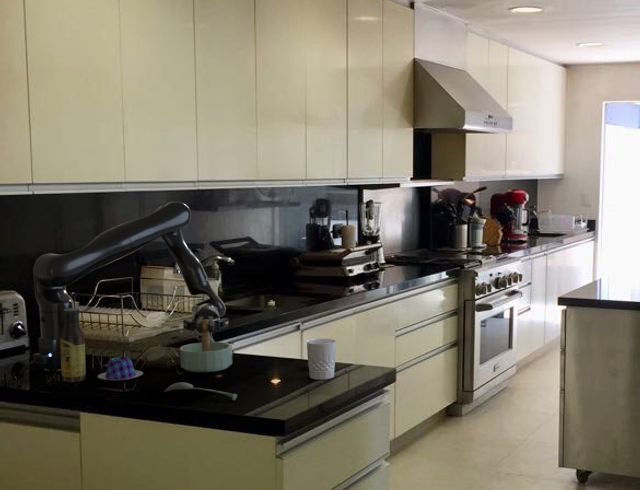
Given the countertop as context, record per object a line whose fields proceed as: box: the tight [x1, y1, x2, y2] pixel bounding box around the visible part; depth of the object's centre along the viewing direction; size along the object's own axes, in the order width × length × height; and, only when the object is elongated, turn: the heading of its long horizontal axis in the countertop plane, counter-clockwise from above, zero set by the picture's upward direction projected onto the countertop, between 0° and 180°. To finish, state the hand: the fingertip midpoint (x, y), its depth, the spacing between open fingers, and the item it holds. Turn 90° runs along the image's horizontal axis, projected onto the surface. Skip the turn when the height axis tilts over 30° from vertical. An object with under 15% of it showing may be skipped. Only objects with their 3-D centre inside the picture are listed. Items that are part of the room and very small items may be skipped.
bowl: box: [179, 341, 234, 373], centre depth 268 cm, size 15×15×6 cm
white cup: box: [306, 338, 337, 381], centre depth 254 cm, size 8×8×10 cm
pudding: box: [97, 356, 144, 382], centre depth 257 cm, size 12×12×5 cm
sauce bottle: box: [60, 307, 87, 384], centre depth 252 cm, size 7×6×20 cm
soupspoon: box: [163, 381, 238, 401], centre depth 235 cm, size 22×3×7 cm
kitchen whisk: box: [192, 329, 216, 343], centre depth 299 cm, size 6×34×6 cm, turn 22°
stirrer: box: [201, 320, 210, 351], centre depth 268 cm, size 5×5×13 cm
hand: (204, 328), depth 264 cm, fingers closed on stirrer, 2 cm apart
